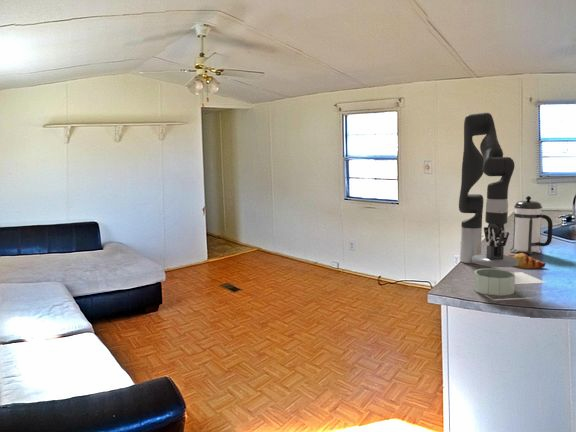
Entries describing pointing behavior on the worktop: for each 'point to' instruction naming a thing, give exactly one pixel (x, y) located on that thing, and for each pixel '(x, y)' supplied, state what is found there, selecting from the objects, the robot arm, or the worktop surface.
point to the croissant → (527, 261)
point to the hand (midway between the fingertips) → (494, 255)
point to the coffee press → (529, 226)
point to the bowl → (494, 282)
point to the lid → (494, 258)
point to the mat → (525, 279)
